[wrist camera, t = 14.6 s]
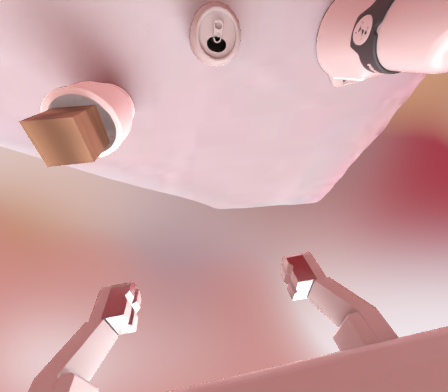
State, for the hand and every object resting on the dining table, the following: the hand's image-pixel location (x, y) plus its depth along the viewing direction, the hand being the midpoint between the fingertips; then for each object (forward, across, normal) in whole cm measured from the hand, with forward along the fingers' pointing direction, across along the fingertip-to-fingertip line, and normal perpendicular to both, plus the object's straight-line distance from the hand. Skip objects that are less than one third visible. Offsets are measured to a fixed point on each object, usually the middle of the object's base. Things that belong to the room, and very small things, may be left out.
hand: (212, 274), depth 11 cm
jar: (+41, +16, -2) cm, 44 cm away
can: (+41, -5, -12) cm, 43 cm away
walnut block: (+26, +16, -2) cm, 31 cm away
